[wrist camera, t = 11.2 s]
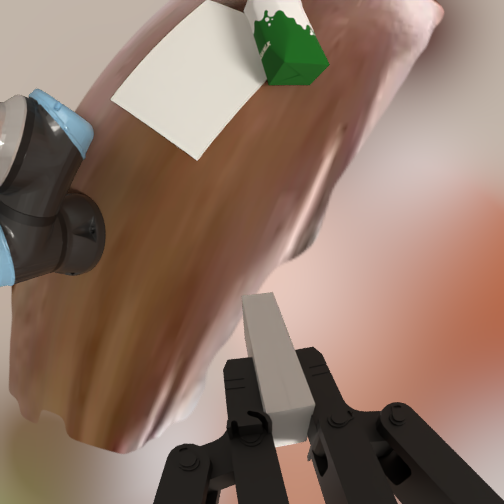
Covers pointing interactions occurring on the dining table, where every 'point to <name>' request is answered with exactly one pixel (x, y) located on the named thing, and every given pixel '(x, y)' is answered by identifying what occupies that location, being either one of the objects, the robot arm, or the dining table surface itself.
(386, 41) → the dining table surface
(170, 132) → the mat
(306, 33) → the soya milk
